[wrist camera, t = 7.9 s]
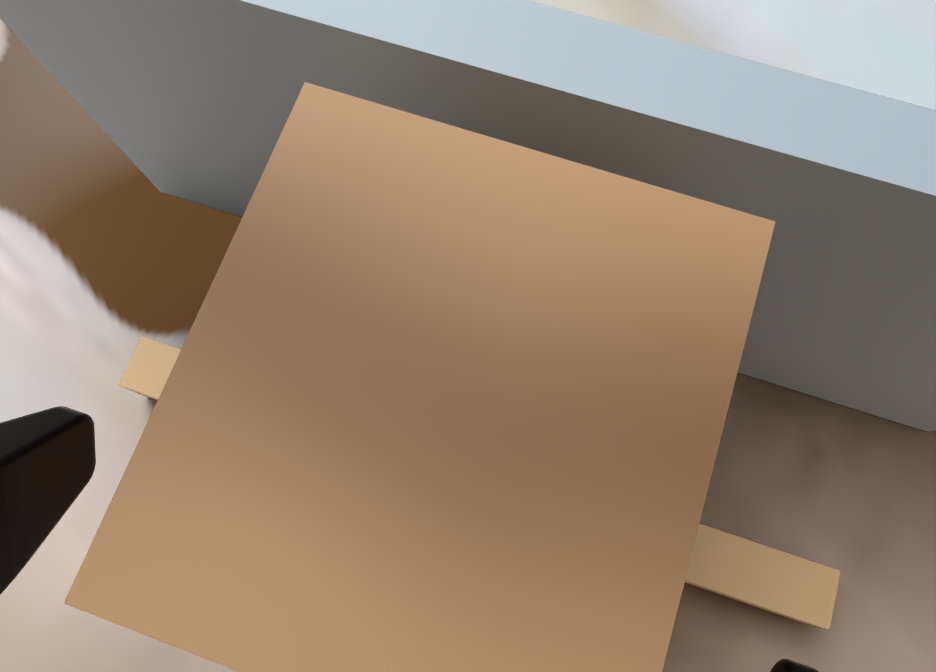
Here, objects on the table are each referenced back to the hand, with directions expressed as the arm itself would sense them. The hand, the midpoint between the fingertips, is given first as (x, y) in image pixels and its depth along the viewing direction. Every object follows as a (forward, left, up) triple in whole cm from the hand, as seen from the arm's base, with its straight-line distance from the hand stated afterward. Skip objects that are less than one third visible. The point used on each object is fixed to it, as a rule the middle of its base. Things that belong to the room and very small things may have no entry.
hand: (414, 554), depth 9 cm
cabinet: (+2, 0, -8) cm, 8 cm away
